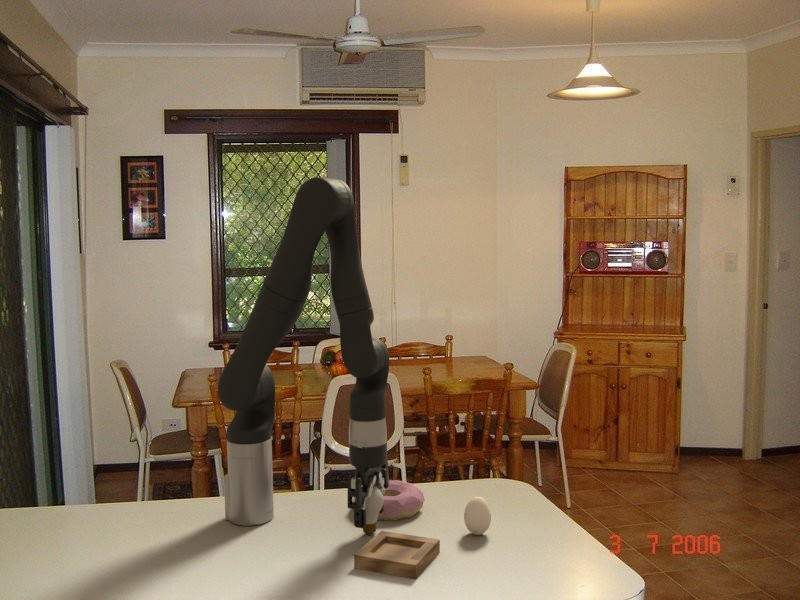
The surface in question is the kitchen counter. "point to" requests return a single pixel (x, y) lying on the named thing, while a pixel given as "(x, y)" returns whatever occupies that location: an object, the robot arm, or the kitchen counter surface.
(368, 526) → the light bulb
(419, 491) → the donut
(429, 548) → the base
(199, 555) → the kitchen counter surface
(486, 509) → the egg
